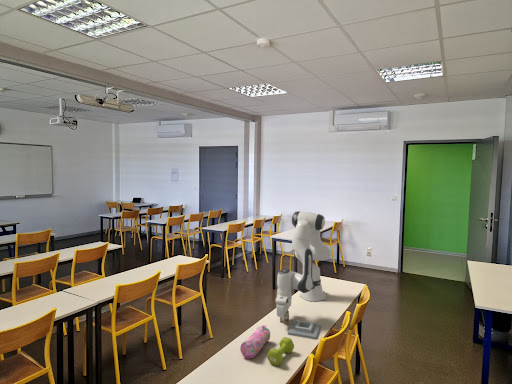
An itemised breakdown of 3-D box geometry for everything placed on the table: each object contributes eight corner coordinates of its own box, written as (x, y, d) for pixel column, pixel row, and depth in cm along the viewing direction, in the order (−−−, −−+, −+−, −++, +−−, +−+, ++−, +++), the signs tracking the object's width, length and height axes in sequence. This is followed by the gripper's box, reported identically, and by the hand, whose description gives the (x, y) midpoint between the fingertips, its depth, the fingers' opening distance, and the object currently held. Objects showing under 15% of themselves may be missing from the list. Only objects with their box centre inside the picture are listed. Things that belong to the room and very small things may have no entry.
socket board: (294, 322, 199) (294, 317, 199) (320, 326, 193) (320, 321, 193) (287, 334, 184) (287, 328, 184) (315, 339, 178) (315, 333, 178)
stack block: (282, 319, 203) (282, 310, 203) (289, 320, 201) (289, 311, 201) (280, 322, 199) (279, 312, 199) (287, 323, 197) (287, 314, 197)
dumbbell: (280, 369, 152) (280, 354, 152) (265, 363, 156) (265, 349, 156) (295, 352, 166) (295, 338, 165) (281, 348, 170) (281, 334, 170)
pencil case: (257, 338, 181) (256, 322, 180) (272, 341, 177) (272, 325, 176) (238, 357, 162) (238, 340, 161) (255, 362, 158) (255, 344, 157)
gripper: (284, 289, 210) (284, 310, 211) (274, 301, 191) (274, 324, 192) (293, 290, 208) (293, 312, 209) (284, 303, 189) (285, 326, 190)
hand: (284, 318), depth 200 cm, fingers closed on stack block, 4 cm apart
